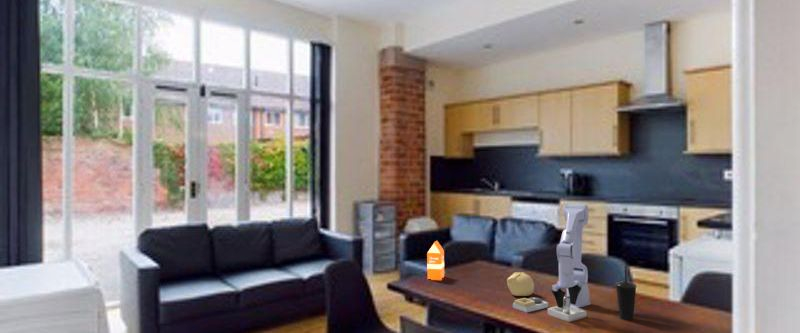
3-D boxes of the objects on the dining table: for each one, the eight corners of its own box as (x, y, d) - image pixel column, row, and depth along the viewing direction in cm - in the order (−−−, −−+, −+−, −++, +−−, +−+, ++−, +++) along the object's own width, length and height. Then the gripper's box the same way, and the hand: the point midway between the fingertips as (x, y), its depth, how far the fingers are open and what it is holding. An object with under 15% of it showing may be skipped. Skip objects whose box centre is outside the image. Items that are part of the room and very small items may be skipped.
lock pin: (564, 312, 194) (564, 295, 194) (571, 314, 191) (571, 297, 191) (560, 314, 192) (560, 297, 192) (567, 316, 189) (567, 298, 189)
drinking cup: (630, 315, 191) (630, 266, 190) (641, 321, 183) (640, 270, 183) (612, 315, 190) (611, 266, 190) (621, 322, 183) (621, 271, 183)
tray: (565, 310, 198) (565, 304, 198) (586, 317, 189) (586, 310, 189) (547, 314, 193) (547, 308, 193) (568, 322, 184) (568, 315, 184)
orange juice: (427, 279, 254) (426, 242, 253) (431, 275, 262) (430, 240, 262) (441, 280, 251) (440, 243, 251) (444, 276, 260) (444, 240, 260)
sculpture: (514, 290, 230) (514, 268, 230) (537, 294, 223) (537, 271, 222) (503, 295, 221) (503, 272, 221) (527, 300, 214) (527, 276, 214)
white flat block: (534, 302, 210) (534, 294, 210) (548, 307, 203) (548, 298, 203) (513, 307, 203) (512, 299, 203) (526, 312, 196) (526, 304, 196)
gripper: (570, 268, 198) (570, 300, 198) (546, 273, 191) (546, 306, 191) (584, 271, 192) (584, 304, 192) (559, 276, 185) (560, 310, 185)
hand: (566, 305), depth 191 cm, fingers open, 7 cm apart
